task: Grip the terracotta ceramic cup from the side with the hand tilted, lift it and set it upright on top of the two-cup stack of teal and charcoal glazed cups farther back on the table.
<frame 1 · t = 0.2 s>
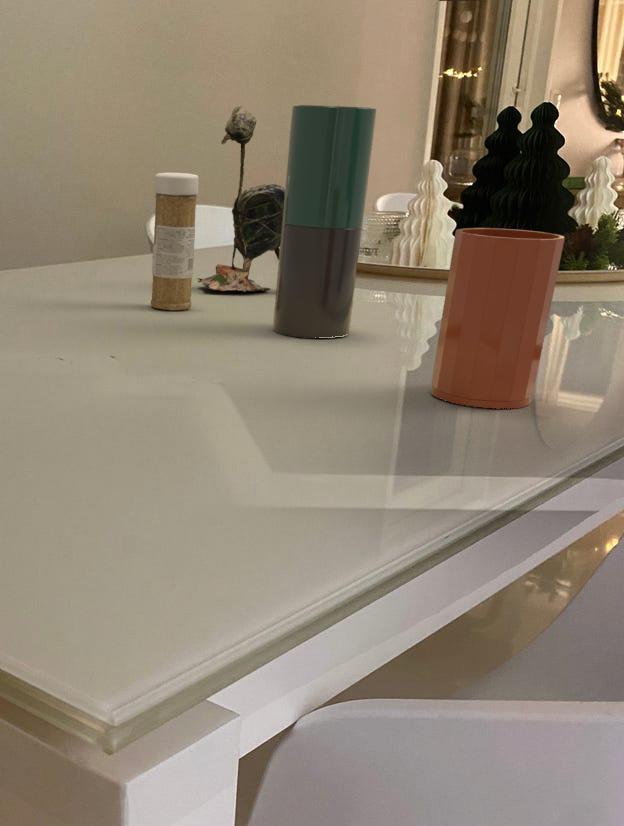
plant with pod: (242, 292, 127), on the table
brown spice jar: (170, 309, 114), on the table
cup stack: (310, 331, 104), on the table
terracotta cup: (480, 396, 82), on the table
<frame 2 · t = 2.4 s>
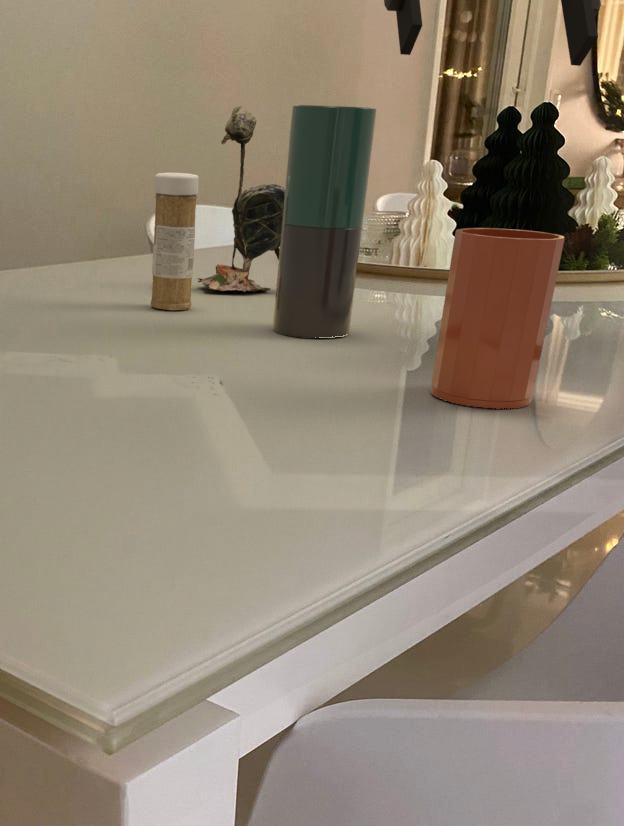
hand: (498, 46, 79), 24 cm above the table, tool tilted 45°, fingers open, 13 cm apart
nothing on the table moved.
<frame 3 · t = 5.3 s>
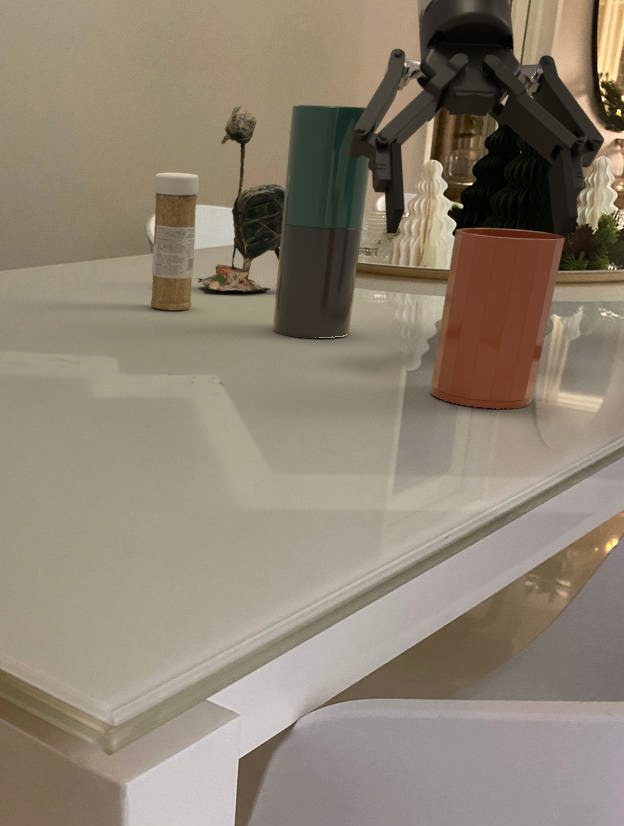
hand: (481, 225, 83), 12 cm above the table, tool tilted 45°, fingers open, 13 cm apart
nothing on the table moved.
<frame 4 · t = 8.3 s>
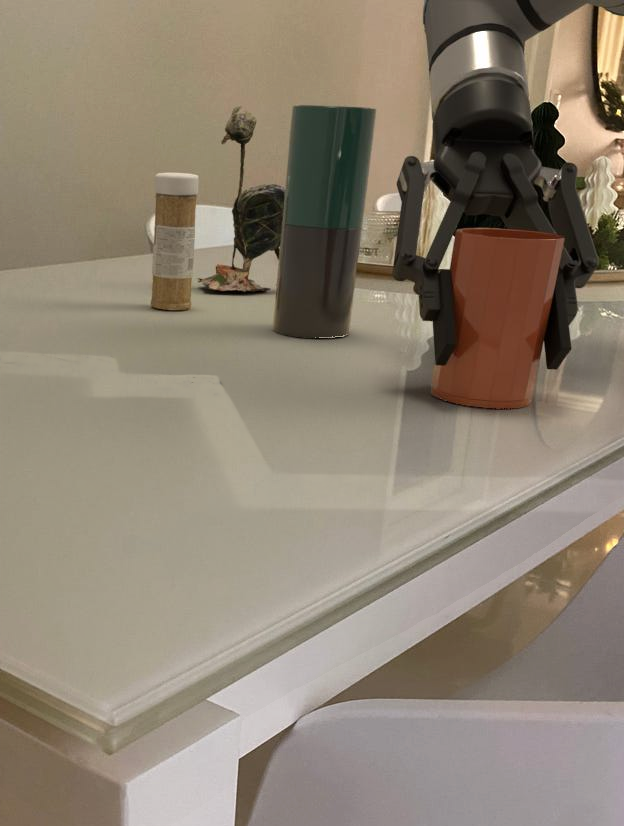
hand: (502, 356, 77), 4 cm above the table, tool tilted 45°, fingers closed on terracotta cup, 8 cm apart
terracotta cup: (480, 396, 82), on the table, touching gripper
everything else where it was.
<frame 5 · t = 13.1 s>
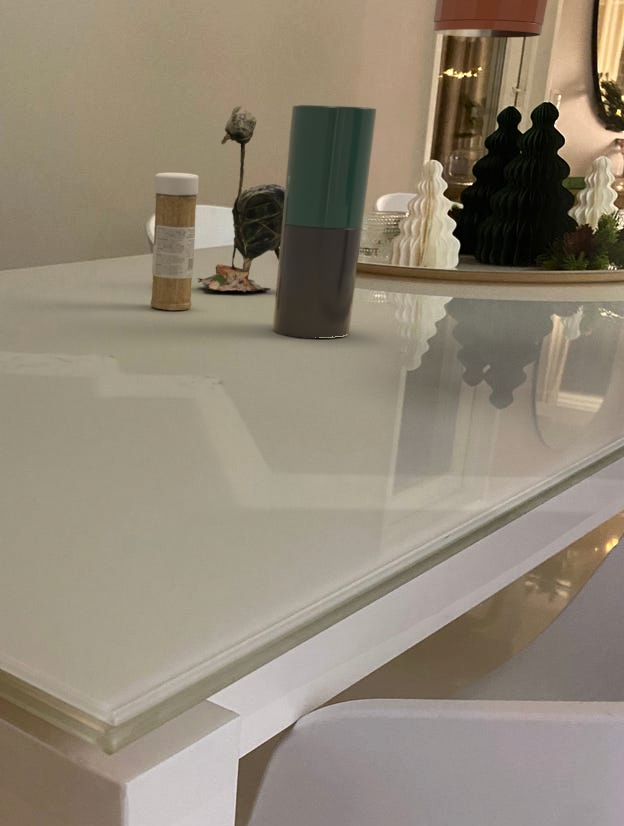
terracotta cup: (486, 33, 76), point 25 cm above the table, touching gripper
everything else where it was.
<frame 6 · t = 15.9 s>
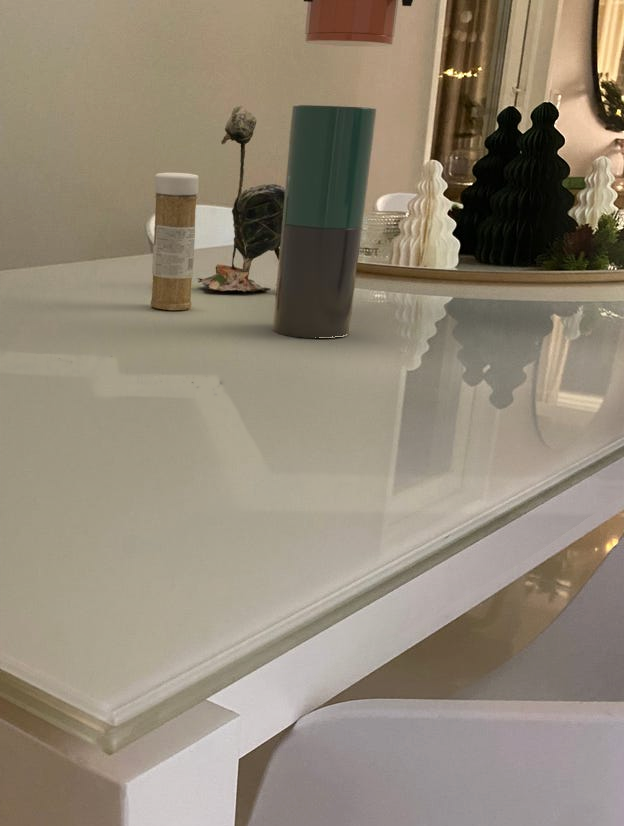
terracotta cup: (348, 43, 92), point 25 cm above the table, touching gripper
everything else where it was.
when the fingers open (24 cm above the table, at t = 17.8 s): terracotta cup stays where it is, resting on cup stack.
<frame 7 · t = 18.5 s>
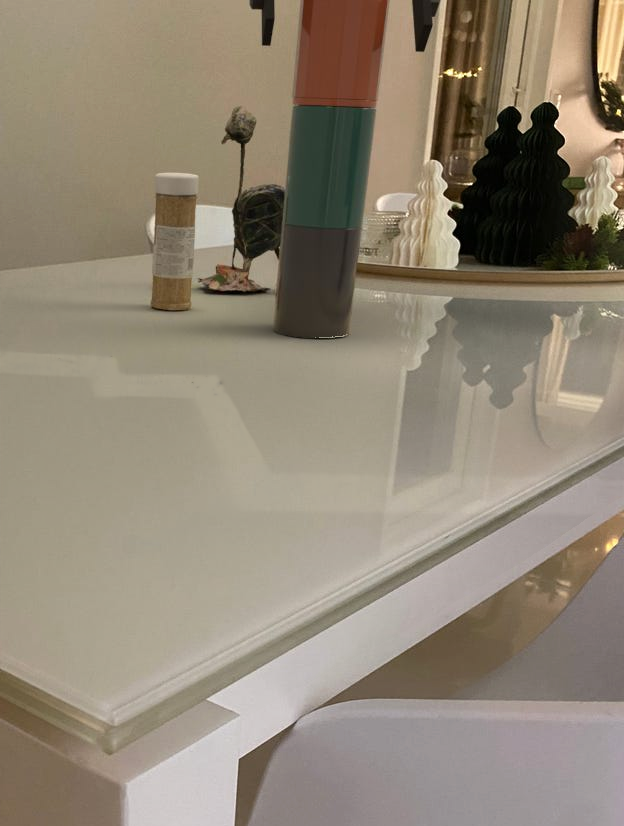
hand: (346, 36, 91), 26 cm above the table, tool tilted 45°, fingers open, 13 cm apart
terracotta cup: (333, 106, 95), point 20 cm above the table, touching cup stack
everything else where it was.
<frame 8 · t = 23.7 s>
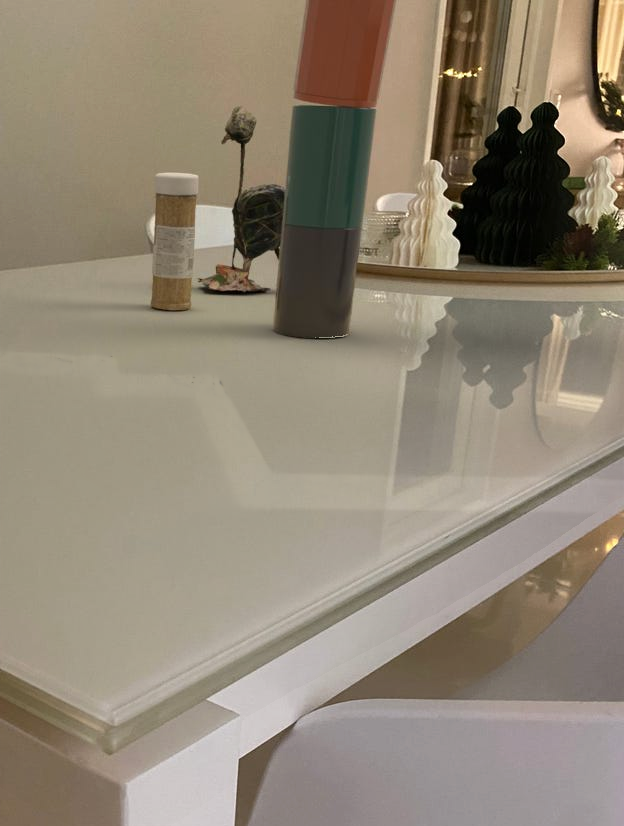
terracotta cup: (334, 101, 95), point 20 cm above the table, tilted 7°, touching cup stack, gripper
everything else where it was.
at the end: terracotta cup 0.1 cm off-centre on the cup stack, point 20.4 cm above the cup stack's base; terracotta cup tilted 7° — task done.
